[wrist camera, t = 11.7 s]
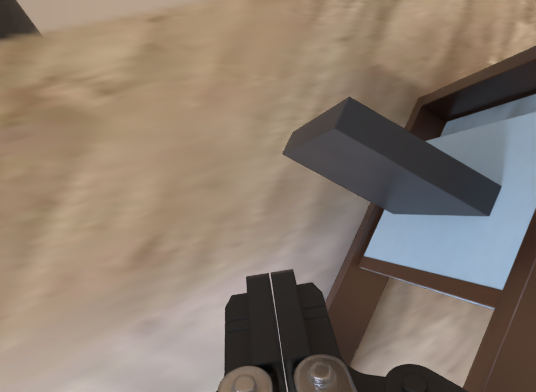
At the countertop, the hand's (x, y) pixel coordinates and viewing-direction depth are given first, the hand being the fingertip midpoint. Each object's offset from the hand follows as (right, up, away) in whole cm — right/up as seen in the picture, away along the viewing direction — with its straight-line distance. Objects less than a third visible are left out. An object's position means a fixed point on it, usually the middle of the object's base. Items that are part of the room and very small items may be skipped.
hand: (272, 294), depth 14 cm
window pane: (+5, +4, +16) cm, 17 cm away
